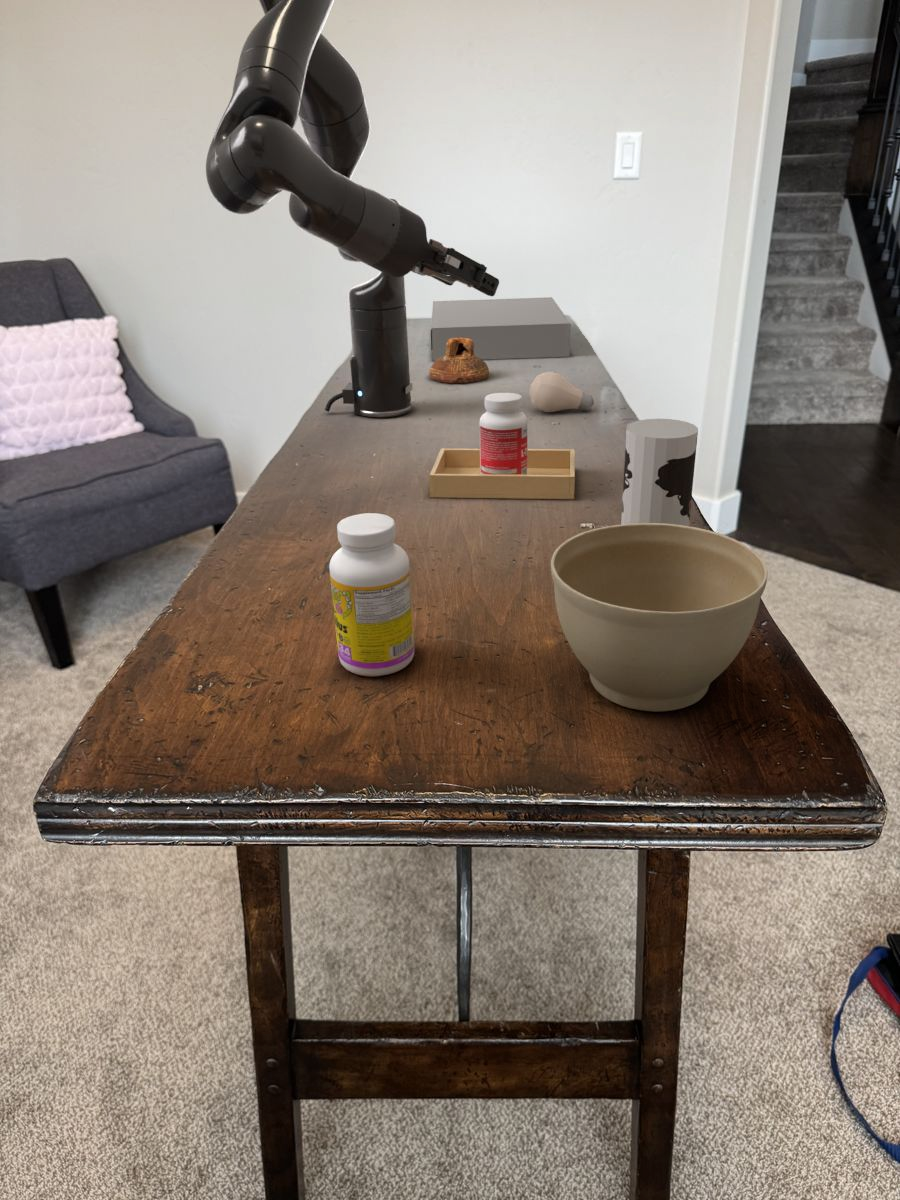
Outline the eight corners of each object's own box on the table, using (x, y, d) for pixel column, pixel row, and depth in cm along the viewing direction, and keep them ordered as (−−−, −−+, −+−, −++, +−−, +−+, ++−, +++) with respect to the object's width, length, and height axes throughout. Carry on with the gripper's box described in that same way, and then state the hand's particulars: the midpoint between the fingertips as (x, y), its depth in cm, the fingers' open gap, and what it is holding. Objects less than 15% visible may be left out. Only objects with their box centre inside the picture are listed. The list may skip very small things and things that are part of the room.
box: (569, 356, 186) (570, 322, 183) (431, 361, 186) (430, 326, 183) (551, 327, 217) (551, 297, 214) (433, 331, 218) (432, 301, 214)
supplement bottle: (340, 643, 80) (326, 510, 75) (413, 638, 81) (405, 505, 75) (337, 682, 74) (323, 541, 69) (416, 677, 75) (408, 536, 69)
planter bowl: (542, 635, 81) (544, 523, 76) (722, 633, 80) (736, 520, 75) (555, 741, 66) (559, 611, 61) (775, 739, 65) (797, 608, 61)
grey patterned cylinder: (698, 572, 91) (713, 429, 84) (649, 589, 88) (661, 442, 81) (652, 551, 96) (663, 414, 90) (604, 566, 93) (611, 426, 86)
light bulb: (587, 430, 147) (524, 413, 146) (586, 412, 152) (524, 396, 151) (601, 394, 143) (535, 377, 142) (599, 377, 148) (535, 360, 147)
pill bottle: (530, 486, 114) (530, 401, 109) (482, 489, 114) (481, 403, 109) (523, 471, 120) (524, 389, 115) (478, 473, 120) (476, 391, 115)
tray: (430, 497, 113) (429, 475, 112) (441, 469, 123) (440, 448, 122) (574, 499, 111) (574, 476, 110) (574, 470, 121) (574, 449, 120)
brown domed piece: (493, 370, 177) (492, 332, 174) (484, 384, 166) (483, 345, 163) (435, 370, 179) (434, 332, 176) (423, 384, 168) (421, 345, 165)
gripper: (424, 204, 96) (521, 261, 108) (354, 193, 106) (450, 246, 117) (400, 272, 98) (498, 322, 109) (333, 255, 108) (430, 302, 119)
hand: (473, 283), depth 113 cm, fingers open, 8 cm apart
